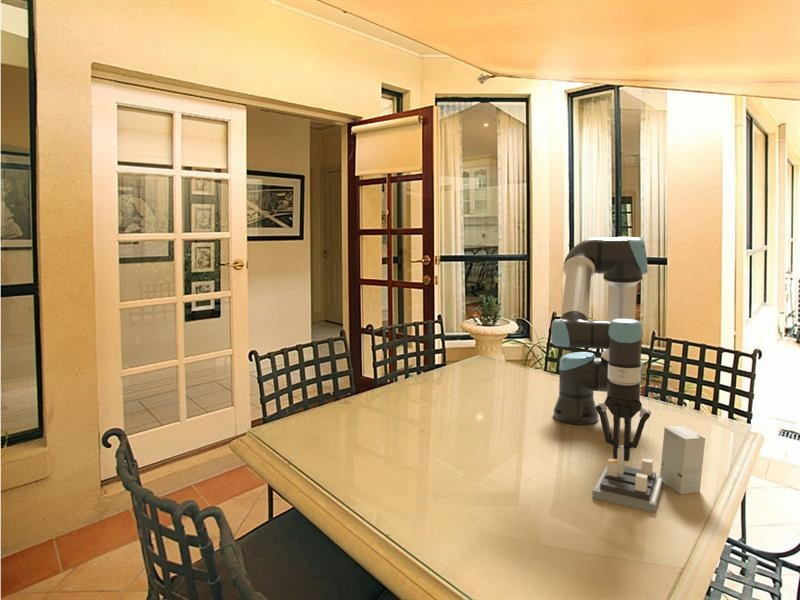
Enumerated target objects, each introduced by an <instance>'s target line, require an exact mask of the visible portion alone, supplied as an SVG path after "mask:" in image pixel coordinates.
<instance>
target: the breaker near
mask: <svg viewBox="0 0 800 600" xmlns="http://www.w3.org/2000/svg"><path fill="white" fill-rule="evenodd" d="M647 478H648V475H644V474H639V473H637V474H636V476H635V490H637V491H642V492H646V491H647Z"/></svg>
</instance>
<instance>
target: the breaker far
mask: <svg viewBox="0 0 800 600" xmlns="http://www.w3.org/2000/svg"><path fill="white" fill-rule="evenodd" d="M640 464H641V467H640V470H641V474H644V475H649V476H651V475H652V472H653V470H654V469H653V467H654V465H653V464H654V459H651V458H650V459H649V458H644V457H643V458H642V459H641V463H640Z"/></svg>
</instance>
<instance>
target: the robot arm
mask: <svg viewBox="0 0 800 600" xmlns="http://www.w3.org/2000/svg"><path fill="white" fill-rule="evenodd" d="M563 273H564V275H565V280H564V286H563V287H564V288H563V295H562V296H563V297H562V303H561V304H562V305H561V313H560V318H556V319H553V320H552V322H551V331H550V333H551V336H550V338H551V339H550V340H551V344H552V345H554V346H555V347H564V348H579V349H580V348H582V349H594V350H595V349H597V350H599V349H600V350H603V351H602V352H601V356H600V357H596V355H595V353H593V352H592V351H591V352H590V351H589V352H588V351H575V352H569V353H567V354H564V355H562V356H561V357H560V358H559V368H558V371H559V384H558V385H559V386H558V398H557V400H556V403H555V404H554V408H553V417H554V418H555V419H556V420H557V419H558V421H559V420H560V421H559V422H562V423H565V422H566V424H570V423H571V425H582V426H584V425H591V424H595V423H597V422H598V421H599V418H600V422H601V428H602V432H603V435H604V440H605V443H606V444H608V445H611V446H612V448H613V449H612V459H615V460H617V473H620V474H623V473H624V471H625V467H626V462H629V460H630V458H631V449H636V448H637V447H638V445H639V442H640V439H641V437H642V433H643V431H644V427H645V424H646V421H647V420H649V419H650V417H651V415H652V411H651V410H647V409H645V408H644V407H643V406H642V403H641V399H640V398H641V393H640V392H641V383H642V376H643V368H644V367H643V366H644V365H643V364H644V363H643V361H642V346H643V345H642V343H643V340H642V339H643V335H644V334H643V329H642V328H643V324H642V322H641V321H640V320H636V308H637V307H636V306H637V289H638V288H637V287H638V284H639V283H640V282H641V281H643V275H647V274H648V273H649V271H648V257H647V248H646V242H645V241H644V239H643V238H642V237H633V236H617V237H614V236H613V237H591V238H587V239H584V240H582V241H581V242H579V243H578V244H575V246H574V247H573V248H571V250H569V252H568V253H567V254H566V257H565V259H564V262H563ZM594 274H600V275H602V274H603V280H604V281H605V282H606V283H607V308H606V309H607V312H606V314H607V315H606V316H607V318H606V320H591V319H590V305H591V304H590V302H591V301H590V299H591V287H592V286H591V285H592V283H591V282H592V278H593V276H594ZM589 319H590V320H589ZM594 392H604V393H607V394H606V398H605V400H604V402H602V403H598V404H597V405H596V402H595V399H594ZM607 409H608V411H609V412H610V413H611V415H612V416H613V417H612V419H613V429H612V430H611V427H610V423H609V418H608V414H607ZM638 413H639V417H640V419H639V421H638V425H637V428H636V431H635V435H634V437H633V440H632V439H631V438H632V419H633V418H634V416H635V415H636V414H638ZM622 419H623V420H624V421H623V423H624V428H623V429H624V430H623V433H624V434H623V435H624V436H623V444H620V443H621V420H622ZM612 431H613V432H612ZM631 440H632V441H631Z"/></svg>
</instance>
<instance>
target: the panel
mask: <svg viewBox="0 0 800 600" xmlns="http://www.w3.org/2000/svg"><path fill="white" fill-rule="evenodd" d="M637 473H639V474H641V468H640V469H639V468H634V467H628V466H625V471H624V473H623V474H620V473H618V476H617V477H614V476H610V475H607V465H605V467H604V469H603V471H602V472H601V474H600V476H599V478H598V479H597V482H596V483H595V486H594V487H593V489H592V499H595V500H599V501H603V502H608V503H612V504H616V505H619V506H623V507H624V506H625V507H628V508H633V509H636V510H640V511H645V512H648V513H654V514H656V512H657V511H656V510H657V506H658V503H659V501H660V496H661V492H662V489H663V484H664V482H663V478H662V477H660V476H657V472H654V471H652V475H651V476H649V475H648V478H647V491H646V492H642V491H637V490H635V476H636V474H637Z"/></svg>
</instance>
